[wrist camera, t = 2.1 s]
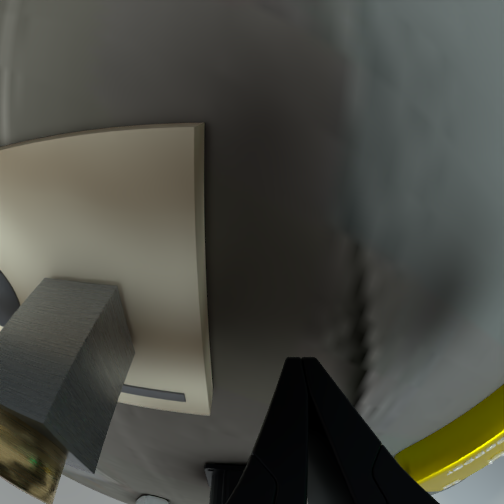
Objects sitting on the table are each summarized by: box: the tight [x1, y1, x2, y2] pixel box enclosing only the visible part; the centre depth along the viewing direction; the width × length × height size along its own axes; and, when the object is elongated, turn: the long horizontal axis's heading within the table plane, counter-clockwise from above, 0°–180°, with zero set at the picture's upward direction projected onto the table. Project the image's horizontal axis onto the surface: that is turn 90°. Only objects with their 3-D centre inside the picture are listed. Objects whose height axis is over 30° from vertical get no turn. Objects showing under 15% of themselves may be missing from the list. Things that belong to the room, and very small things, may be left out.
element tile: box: [394, 384, 504, 492], centre depth 18 cm, size 15×15×5 cm
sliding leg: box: [0, 278, 135, 504], centre depth 6 cm, size 3×3×7 cm
